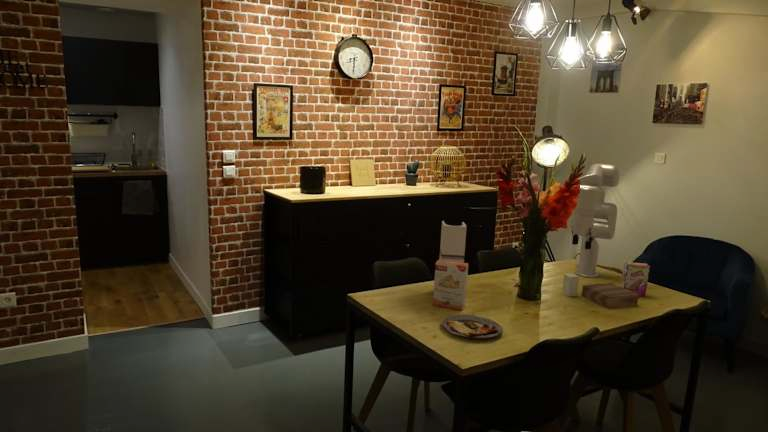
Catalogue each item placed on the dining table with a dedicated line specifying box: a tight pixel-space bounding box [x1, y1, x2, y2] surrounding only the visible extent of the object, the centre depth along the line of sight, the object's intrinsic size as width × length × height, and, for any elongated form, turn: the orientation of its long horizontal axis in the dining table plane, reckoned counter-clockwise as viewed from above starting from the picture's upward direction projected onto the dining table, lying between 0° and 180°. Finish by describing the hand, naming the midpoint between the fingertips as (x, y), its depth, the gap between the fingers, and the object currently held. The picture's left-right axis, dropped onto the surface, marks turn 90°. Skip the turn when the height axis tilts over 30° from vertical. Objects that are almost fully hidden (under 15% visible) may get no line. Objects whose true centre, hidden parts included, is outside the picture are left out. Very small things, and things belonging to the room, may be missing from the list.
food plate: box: [440, 313, 504, 340], centre depth 218 cm, size 25×23×4 cm
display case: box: [438, 220, 467, 263], centre depth 258 cm, size 11×11×35 cm
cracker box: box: [432, 259, 469, 311], centre depth 242 cm, size 14×6×21 cm, turn 70°
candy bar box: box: [620, 261, 651, 297], centre depth 273 cm, size 11×5×16 cm, turn 84°
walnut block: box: [581, 282, 640, 309], centre depth 263 cm, size 18×18×6 cm
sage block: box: [561, 273, 580, 297], centre depth 269 cm, size 5×5×10 cm
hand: (581, 246), depth 265 cm, fingers open, 9 cm apart
